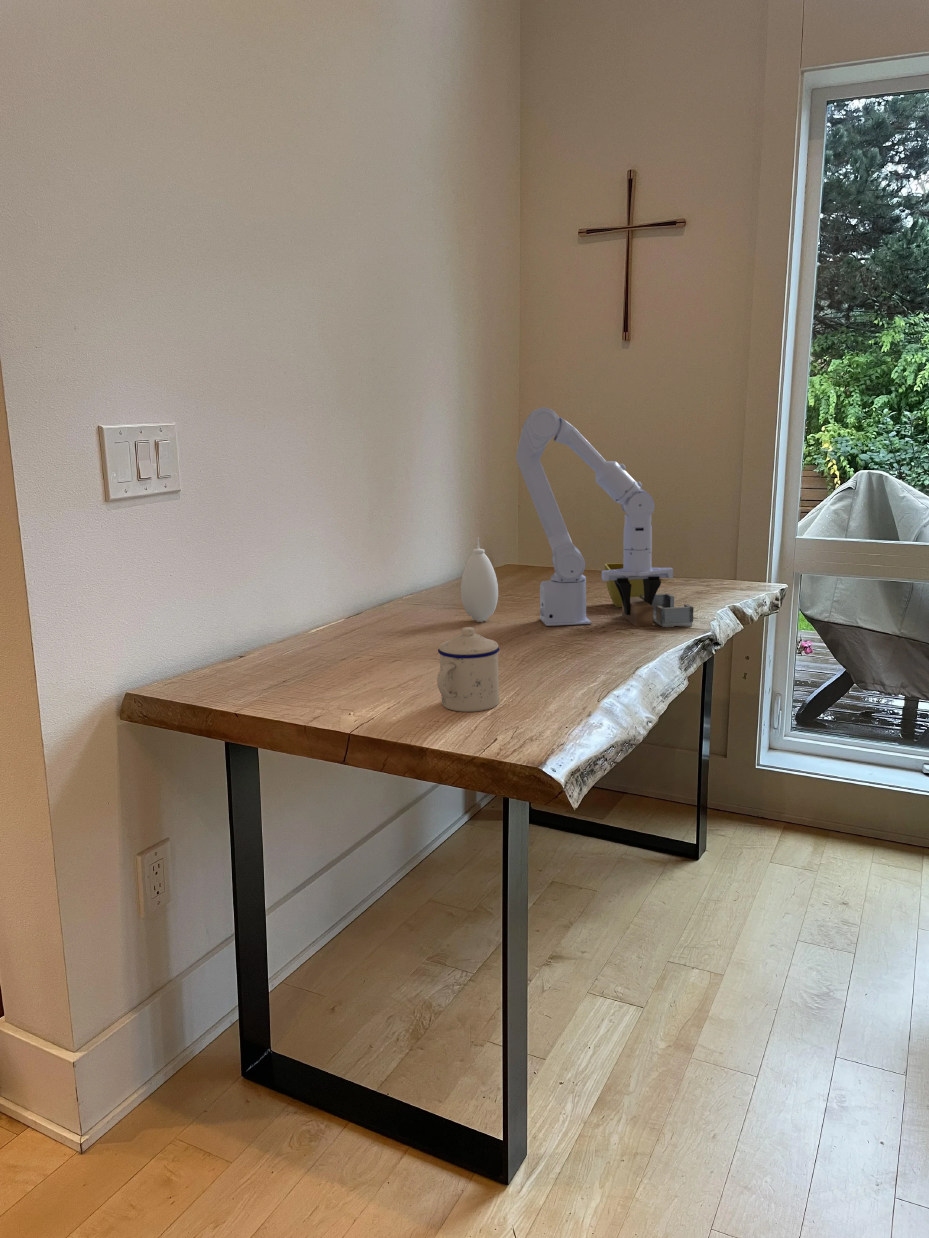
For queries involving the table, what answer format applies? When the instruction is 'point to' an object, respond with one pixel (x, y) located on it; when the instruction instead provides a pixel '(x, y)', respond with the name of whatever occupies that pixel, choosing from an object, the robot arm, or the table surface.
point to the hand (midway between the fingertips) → (637, 613)
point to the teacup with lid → (468, 672)
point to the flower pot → (636, 589)
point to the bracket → (670, 611)
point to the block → (639, 612)
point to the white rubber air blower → (479, 586)
